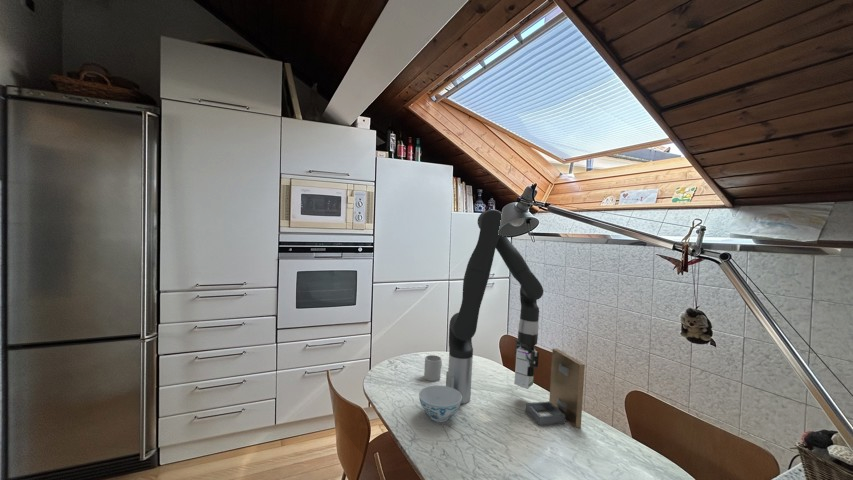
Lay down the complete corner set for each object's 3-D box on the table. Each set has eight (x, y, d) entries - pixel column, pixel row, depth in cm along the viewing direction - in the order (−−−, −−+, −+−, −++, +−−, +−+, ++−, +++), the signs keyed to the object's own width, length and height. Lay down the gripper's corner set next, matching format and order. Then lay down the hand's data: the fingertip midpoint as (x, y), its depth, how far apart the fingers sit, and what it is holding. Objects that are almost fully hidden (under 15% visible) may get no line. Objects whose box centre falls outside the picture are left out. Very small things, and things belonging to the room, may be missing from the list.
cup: (420, 378, 150) (421, 358, 150) (434, 371, 158) (435, 352, 158) (433, 383, 145) (435, 362, 145) (446, 376, 153) (448, 356, 153)
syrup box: (527, 389, 131) (531, 352, 130) (513, 384, 134) (516, 348, 134) (533, 384, 135) (536, 348, 135) (519, 380, 139) (522, 344, 139)
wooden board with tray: (544, 431, 114) (548, 366, 113) (521, 406, 129) (524, 349, 129) (580, 428, 117) (584, 364, 116) (553, 404, 132) (557, 348, 132)
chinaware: (433, 434, 109) (435, 410, 109) (409, 412, 121) (411, 390, 121) (469, 421, 117) (470, 399, 117) (443, 402, 130) (444, 382, 129)
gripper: (511, 325, 141) (508, 364, 141) (528, 336, 127) (525, 379, 127) (527, 325, 142) (524, 364, 142) (546, 336, 128) (543, 379, 128)
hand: (524, 371), depth 135 cm, fingers closed on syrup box, 8 cm apart
